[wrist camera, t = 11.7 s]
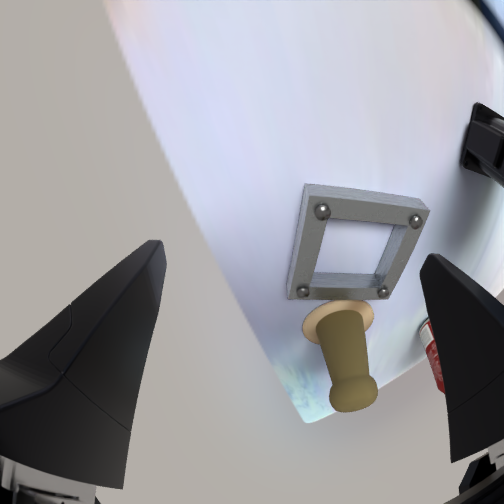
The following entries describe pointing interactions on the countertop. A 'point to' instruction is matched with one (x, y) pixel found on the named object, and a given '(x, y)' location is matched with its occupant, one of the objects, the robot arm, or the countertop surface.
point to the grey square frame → (352, 208)
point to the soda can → (432, 353)
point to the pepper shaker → (346, 360)
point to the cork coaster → (334, 306)
